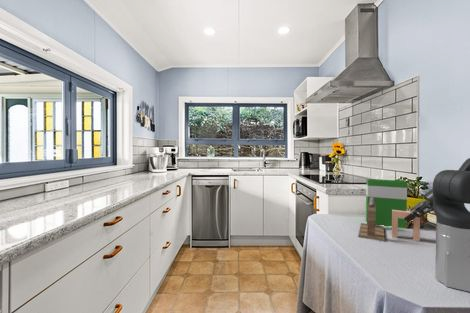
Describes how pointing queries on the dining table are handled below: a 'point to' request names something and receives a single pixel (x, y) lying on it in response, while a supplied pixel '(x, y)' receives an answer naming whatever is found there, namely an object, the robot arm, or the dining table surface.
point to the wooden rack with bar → (371, 224)
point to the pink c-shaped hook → (403, 214)
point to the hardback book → (387, 200)
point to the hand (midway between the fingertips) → (405, 219)
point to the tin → (422, 219)
